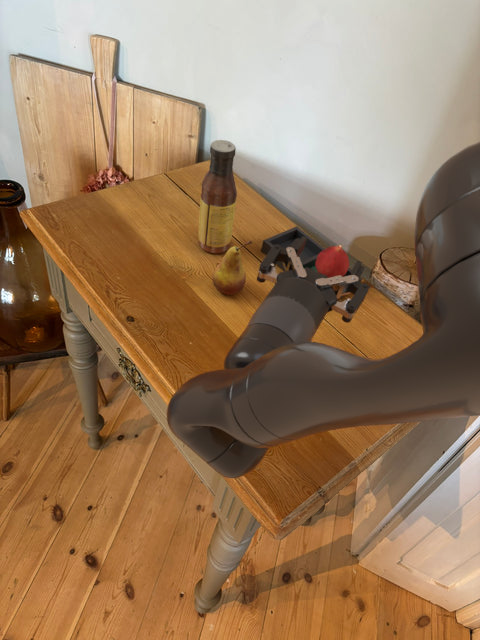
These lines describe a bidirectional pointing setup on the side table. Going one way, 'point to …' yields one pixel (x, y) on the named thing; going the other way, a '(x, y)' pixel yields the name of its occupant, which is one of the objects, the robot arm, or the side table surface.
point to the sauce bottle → (218, 199)
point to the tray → (307, 254)
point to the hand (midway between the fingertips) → (330, 253)
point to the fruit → (230, 272)
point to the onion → (332, 261)
